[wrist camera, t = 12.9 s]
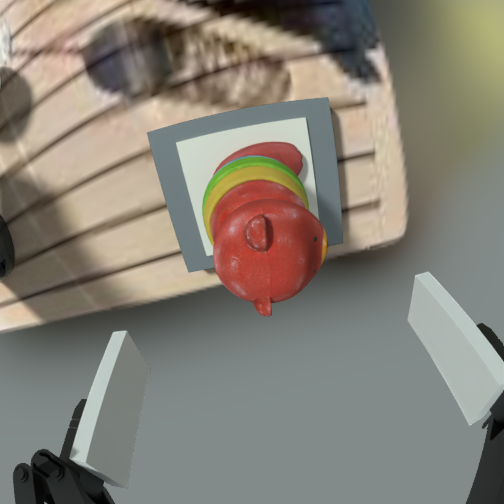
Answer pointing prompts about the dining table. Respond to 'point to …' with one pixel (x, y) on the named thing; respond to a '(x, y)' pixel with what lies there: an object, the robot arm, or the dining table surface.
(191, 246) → the slate plinth
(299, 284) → the stacking bear
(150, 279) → the dining table surface
